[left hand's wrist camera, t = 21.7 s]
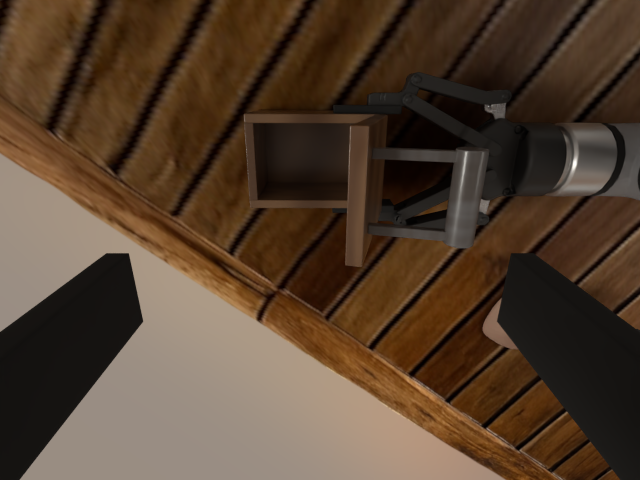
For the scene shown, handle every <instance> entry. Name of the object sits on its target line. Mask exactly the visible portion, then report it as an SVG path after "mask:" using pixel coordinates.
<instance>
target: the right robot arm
mask: <svg viewBox="0 0 640 480" xmlns="http://www.w3.org/2000/svg"><path fill="white" fill-rule="evenodd" d="M419 89H421V90H424V91H428V92H431V93H435V94H439V95H442V96H446V97H449V98H453V99H457V100H460V101H464V102H467V103H472V104H481V109H482V111H483V112H487V113H489V114H490V116H491V119H489V120H488V121H486V122H485V123H483V124H482V125H481V126H479V127H478V128H476V129H475V130H474V129H472V128H470V127H468V126H466V125H464V124H462V123H461V122H459V121H457V120H456V119H454V118H452V117H451V116H449V115H447V114H446V113H444V112H442V111H441V110H439V109H437V108H436V107H434V106H432V105H431V104H429V103H427V102H426V101H424V100H422V99H421V98H419V97H417V96H416V95H417V93H418V91H419ZM511 97H512V93H511V91H509V90H490V91H484V90H481V89H477V88H473V87H470V86H466V85H463V84H459V83H456V82H452V81H449V80H445V79H442V78H438V77H434V76H431V75H427V74H424V73H420V72H417V73H413V74H410V75H408V76H407V78H406V83H405V85H404V88H403V89H402V90H401V91H400V92H398V93H371V94H369V95H367V105H333V113H334V114H401V112H402V106H403V107H405V108H407V109H408V110H410V111H412V112H413V113H415V114H417V115H419V116H420V117H422V118H424V119H425V120H427V121H429V122H431V123H432V124H434V125H436V126H437V127H439V128H441V129H442V130H444V131H446V132H448V133H449V134H451V135H452V136H454V137H455V138H457V139H459V140H460V143H459V144H457V148H458V147H478V148H485V149H488V150H489V156H488V162H487V168H486V173H485V179H484V185H483V191H482V196H481V202H480V208H479V214H478V220H477V225H485V224H487V223H488V221H489V217H488V216H487V215H486V212H487V208H488V205H489V201H490V200H493V199H495V198H497V197H500V196H542V195H546V196H623V197H630V198H634V199H637V200H640V123H616V124H606V123H556V124H553V123H513V122H510V121H509V120H507V119H505V109H506V103H507V102H509V101H510V99H511ZM451 179H452V176H450V177H448V178H446V179H445V180H444V181H443V182H441V183H439V184H437V185H435V186H433V187H431V188H429V189H427V190H425V191H423V192H421V193H419V194H417V195H415V196H413V197H410V198H408V199H406V200H404V201H402V202H400V203H398V204H396V205H393V204H392V202H391V201H390V199H382V208H381V213H380V215H379V218H378V221H392V222H393V223H394V225H405V226H416V227H428V228H440V229H445V223H446V215H447V210H442V211H438V212H434V213H429V214H425V215H421V216H416V217H412V216H414V215H417V214H419V213H421V212H423V211H425V210H427V209H429V208H431V207H433V206H436V205H438V204H440V203H442V202H444V201H446V200H448V199H449V194H450V187H451ZM332 210H333V213H347V208H332ZM410 217H412V218H410ZM402 238H405V237H402Z"/></svg>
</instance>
